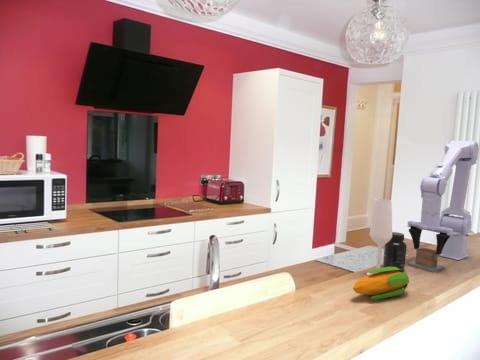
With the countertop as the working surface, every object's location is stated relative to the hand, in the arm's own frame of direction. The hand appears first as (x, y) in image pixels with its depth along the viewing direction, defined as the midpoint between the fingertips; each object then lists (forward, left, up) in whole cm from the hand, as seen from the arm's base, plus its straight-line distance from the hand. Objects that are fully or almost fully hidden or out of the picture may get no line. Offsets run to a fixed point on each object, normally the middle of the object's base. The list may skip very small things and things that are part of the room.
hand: (427, 251), depth 131 cm
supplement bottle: (+12, -5, -6) cm, 14 cm away
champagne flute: (+23, -4, -6) cm, 24 cm away
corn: (+37, +6, -6) cm, 38 cm away
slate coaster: (0, 0, -5) cm, 5 cm away
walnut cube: (0, 0, -5) cm, 5 cm away
